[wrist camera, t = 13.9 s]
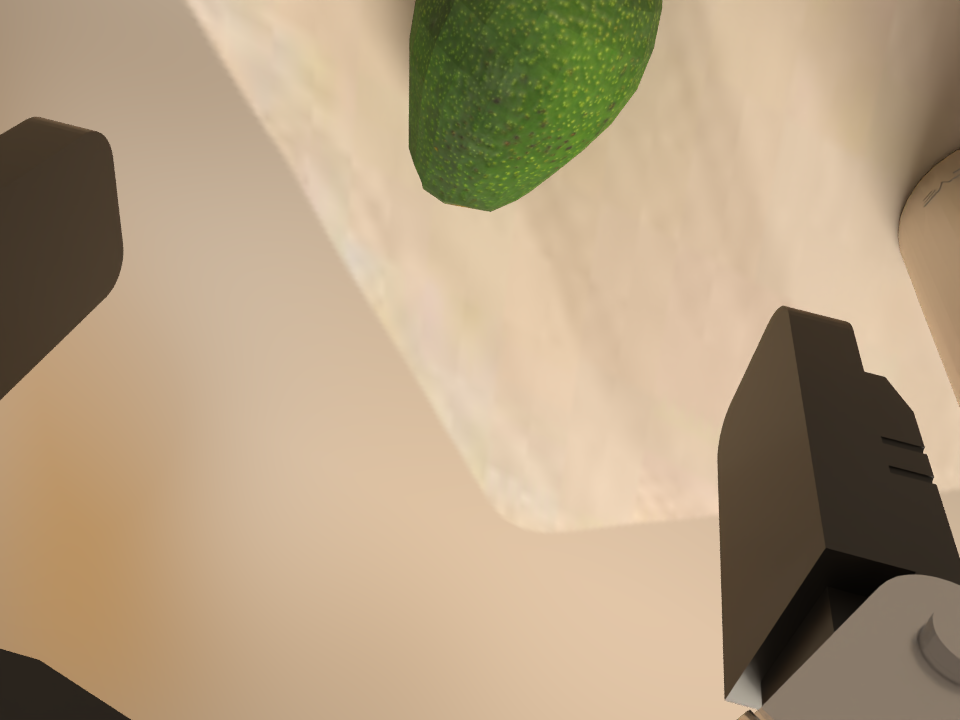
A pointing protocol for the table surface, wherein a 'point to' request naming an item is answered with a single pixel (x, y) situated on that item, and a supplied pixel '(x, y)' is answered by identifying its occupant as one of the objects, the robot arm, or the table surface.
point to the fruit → (517, 88)
